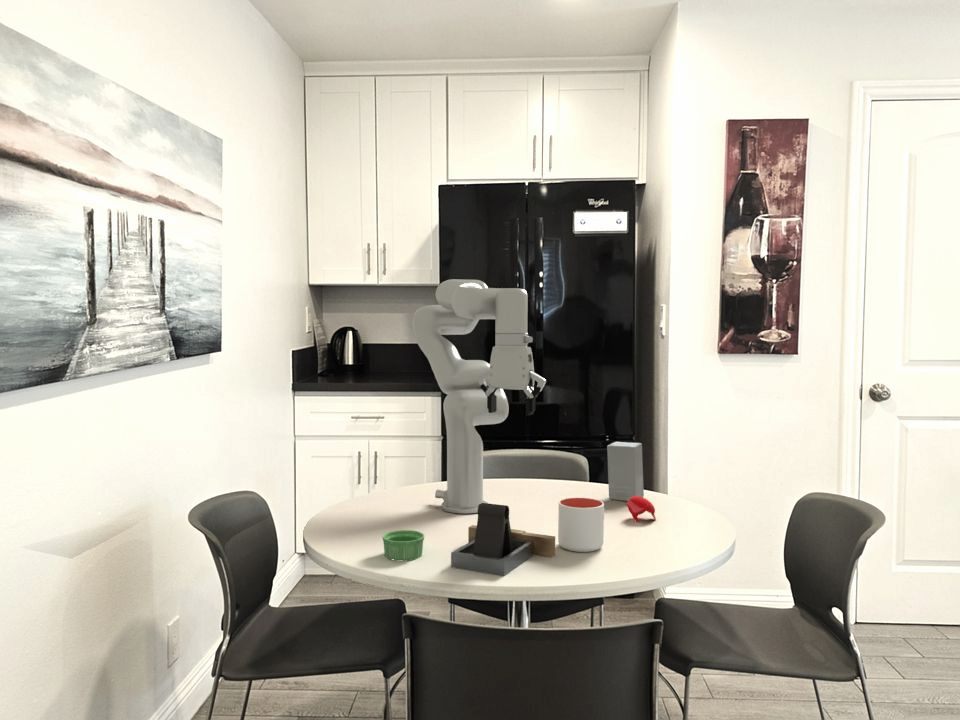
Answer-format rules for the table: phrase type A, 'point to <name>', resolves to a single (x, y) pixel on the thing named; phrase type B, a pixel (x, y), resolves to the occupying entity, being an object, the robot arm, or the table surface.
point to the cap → (640, 507)
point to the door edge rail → (542, 543)
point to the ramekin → (403, 544)
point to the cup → (581, 524)
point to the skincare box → (625, 470)
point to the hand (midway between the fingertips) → (510, 413)
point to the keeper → (491, 565)
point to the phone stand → (493, 531)
